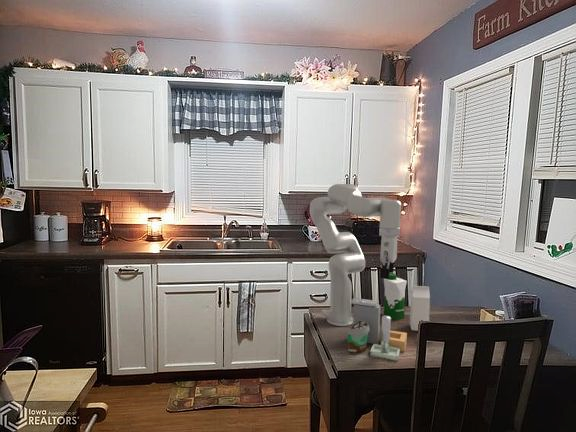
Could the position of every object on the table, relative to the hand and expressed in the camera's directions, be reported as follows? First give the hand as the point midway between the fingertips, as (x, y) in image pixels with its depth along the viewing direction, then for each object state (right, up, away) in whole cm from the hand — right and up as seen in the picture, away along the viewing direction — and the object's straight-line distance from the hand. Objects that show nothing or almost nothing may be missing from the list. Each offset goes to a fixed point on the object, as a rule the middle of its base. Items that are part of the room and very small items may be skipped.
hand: (386, 274), depth 150 cm
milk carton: (+19, -27, +20) cm, 39 cm away
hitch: (-2, -28, +5) cm, 29 cm away
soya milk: (+12, -25, +34) cm, 44 cm away
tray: (-2, -29, -5) cm, 30 cm away
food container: (-11, -29, -1) cm, 31 cm away
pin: (-2, -29, -5) cm, 29 cm away
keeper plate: (-7, -12, +6) cm, 16 cm away
